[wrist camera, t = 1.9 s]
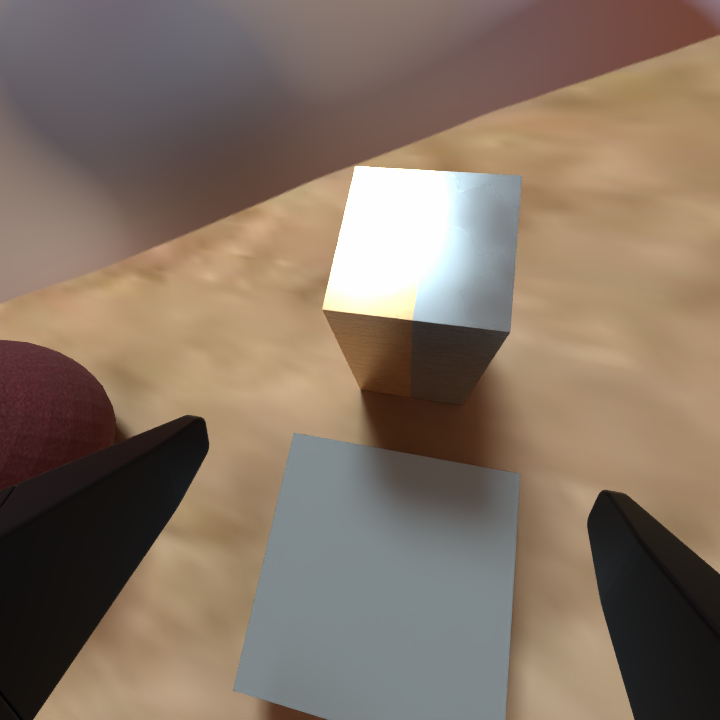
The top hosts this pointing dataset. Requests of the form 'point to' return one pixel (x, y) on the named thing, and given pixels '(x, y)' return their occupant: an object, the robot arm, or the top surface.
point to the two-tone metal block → (424, 279)
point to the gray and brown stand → (384, 587)
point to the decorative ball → (48, 412)
